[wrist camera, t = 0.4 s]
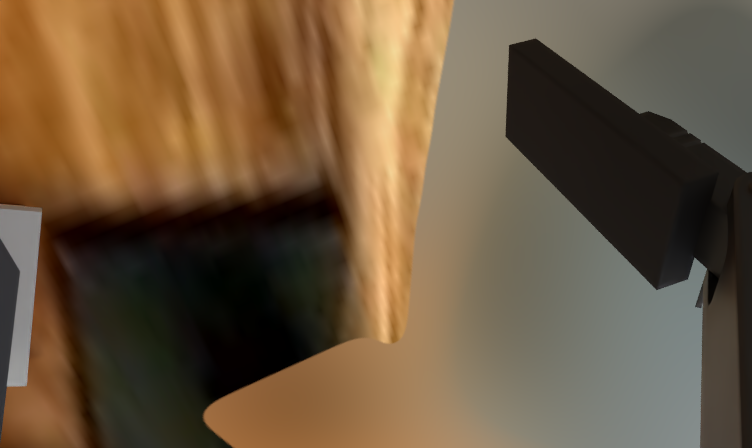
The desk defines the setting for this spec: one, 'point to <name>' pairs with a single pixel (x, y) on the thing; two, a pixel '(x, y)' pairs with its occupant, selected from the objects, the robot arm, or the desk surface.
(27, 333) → the desk lamp
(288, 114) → the desk surface
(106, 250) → the desk surface
